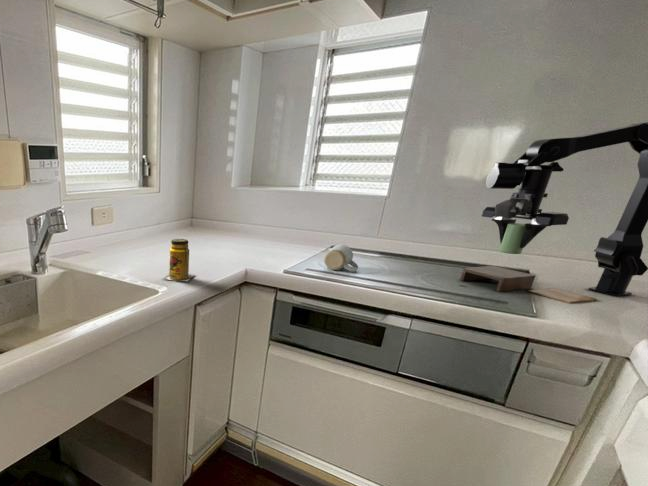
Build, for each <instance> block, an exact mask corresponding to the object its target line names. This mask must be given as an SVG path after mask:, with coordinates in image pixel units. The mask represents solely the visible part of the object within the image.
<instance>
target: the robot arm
mask: <svg viewBox="0 0 648 486" xmlns="http://www.w3.org/2000/svg"><path fill="white" fill-rule="evenodd" d="M625 143H628V144H629V145H630V147H631V149H632V150H633V151H635V152H636V153H638V154H639V157H638V162H637V169H638V175H639V176H638V179H637V182H636V184H635V187H634V189H633V190H632V193H631V195H630V197H629V199H628V200H627V201H628V202H627V203H626V205H625V208H624V210H623V213H622V215H621V217H620V220H619V221H618V223H617V226H616V228H615V230H614V231H613V232H612V233H611V234H610V235H608V236H607V237H603V236H601V237H600V238H599V240H598V242H597V246H596V247H595V248H594V250H593V252H595V253H594V254H595V255H594V258H595V259H596V260H597V267H598V268H600V269H601V268H602V269H603V271H602V274H601V275H600V277H599V279H598V282H597V284H596V286H593V287H588V288H587V290H588V291H593V292H597V293H601V294H606V295H609V296H613V297H621V296H630V295H632V294H633V292H630V291H627V289H628V287H629V286H630V282H631V281H632V280H633V277H635V276H643V275H644V274H645V273H646V272H647V271H648V265H647V264H645V262H644V260H642V258H641V257H642V255H643V254H642V253H643V249H644V241H643V237H642V235H643V231H644V230H645V227H646V225H647V223H648V122H647V121H646V122H637V123H631V124H629V125H625V126H621V127H615V128H612V129H611V128H610V129H607V130H602V131H597V132H593V133H588V134H583V135H578V136H573V137H558V138H556V137H555V138H542V139H538V140H535V141H532V143H531V144H530V145H529V146H528V148H527V150H526V151H525V152H524V153H523V154H522V155H521V156H519V157H518V158H517V159H516V160H514V162H511V163H509V162H495V164H494V167H492V169H491V170H490V171H489V174H487V176H486V180H485V186H486V189H489V190H490V189H492V190H493V189H496V190H497V189H498V190H501V189H503V190H514V189H515V188H517V187H518V189H517V191H516V192H513V193H512V194H511V196H510V198H509V199H506V200H504V201H501V202H499V203H497V204H495V205H494V206H486V207H485V209H483V210H482V212H481V217H483V218H491V221H492V222H494V223H495V224H496V225H497V227H498V233H499V241H500V244H501V243H502V240H503V237H504V234H505V231H506V228H507V225H508V223H517V219H521V220H529V221H530V222H528V223H524V224H525V227H526V231H525V233H524V236H523V239H522V241H521V245H520V248H523V249H524V248H525V247H527V246H528V245H529V243H531V242H532V241H533V239H534V238H536V237H537V235H539V234H540V233H541V232H542V231H543V230H545V229H546V228H547V227H552V226H563V225H564V226H565V225H568V221H569V219H570V217H569V215H568V213H567V212H565V213H564V212H556V211H548V212H547V211H546V212H543V209H542V208H541V204H542V202H543V199H544V198H547V197H548V195H549V194H548V193H546V190H547V187H548V186H549V185H548V184H549V181H550V179H551V177H552V174H553V172H555V173H556V172H560V173H562V172H563V171H564V168H563V167H562V166H561V165H560V163H559V162H558V161H560V160H562V159H565V158H568V157H570V156H573V155H575V154H577V153H580V152H584V151H585V152H586V151H590V150H594V149H599V148H605V147H609V146H614V145H619V144H625ZM545 163H548V164H545ZM528 167H531V168H528Z"/></svg>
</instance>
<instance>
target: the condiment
mask: <svg viewBox="0 0 648 486" xmlns="http://www.w3.org/2000/svg"><path fill="white" fill-rule="evenodd" d="M168 266H169V268H168V269H169V271H168V273H169V275H168V276H167V277H166V278H165V280H168V281H175V282H188V281H190V280H191V279H192V278H193V277H194V275H195V274H193V273H192V274H190V273H189V270H190V249H189V240H188V239H185V238H173V239H171V240H170V249H169V265H168Z"/></svg>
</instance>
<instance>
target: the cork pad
mask: <svg viewBox="0 0 648 486" xmlns="http://www.w3.org/2000/svg"><path fill="white" fill-rule="evenodd" d="M527 292H528V293H531V294H535V295H538V296H542V297H546V298H549V299H552V300H556V301H560V302H564V303H567V304H572V303H575V304H576V303H582V302H592V301H597V300H598V299H597V298H595V297H592V296H587V295H584V294H580V293H576V292H572V291H568V290H563V289H561V288H560V289H559V288H556V287H552V288H539V289H528V290H527Z"/></svg>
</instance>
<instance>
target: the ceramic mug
mask: <svg viewBox="0 0 648 486" xmlns="http://www.w3.org/2000/svg"><path fill="white" fill-rule="evenodd" d="M353 257H354V253H353V250H352V249H351V247H349V245H346V244H337V245H334V246H333V247H332V248H331V249H329V250H328V251H327V252H326V253H325V255H324V258H323V263H324V265H325V267H326V268H327V269H329V270H331V271H339V270H341V269H344V270H347V271H349V272H350V273H351V272H352V273H355V272H357V271H358V270H359V269H360V268H359V265H358V264H357V263H356V262H355V261H354V260H353Z"/></svg>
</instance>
